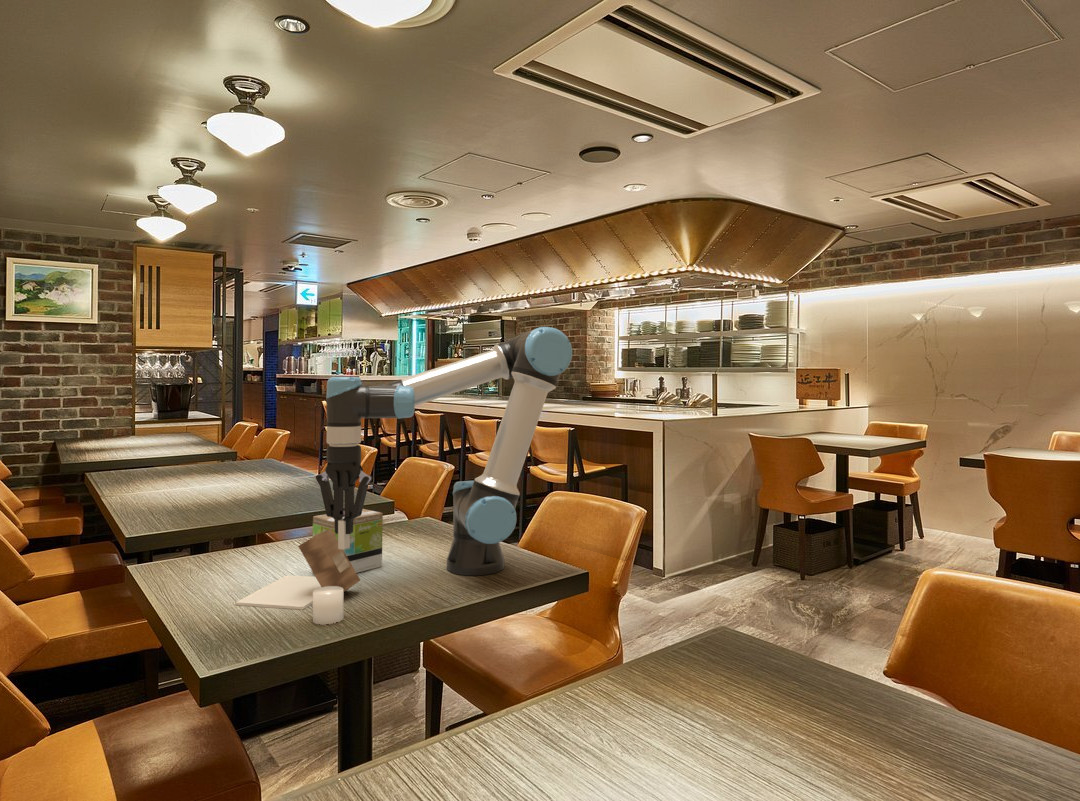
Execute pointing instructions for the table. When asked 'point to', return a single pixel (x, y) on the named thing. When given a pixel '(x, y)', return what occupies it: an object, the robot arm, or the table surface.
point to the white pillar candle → (328, 605)
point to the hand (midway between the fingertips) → (344, 547)
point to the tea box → (358, 538)
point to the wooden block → (329, 561)
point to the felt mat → (284, 593)
